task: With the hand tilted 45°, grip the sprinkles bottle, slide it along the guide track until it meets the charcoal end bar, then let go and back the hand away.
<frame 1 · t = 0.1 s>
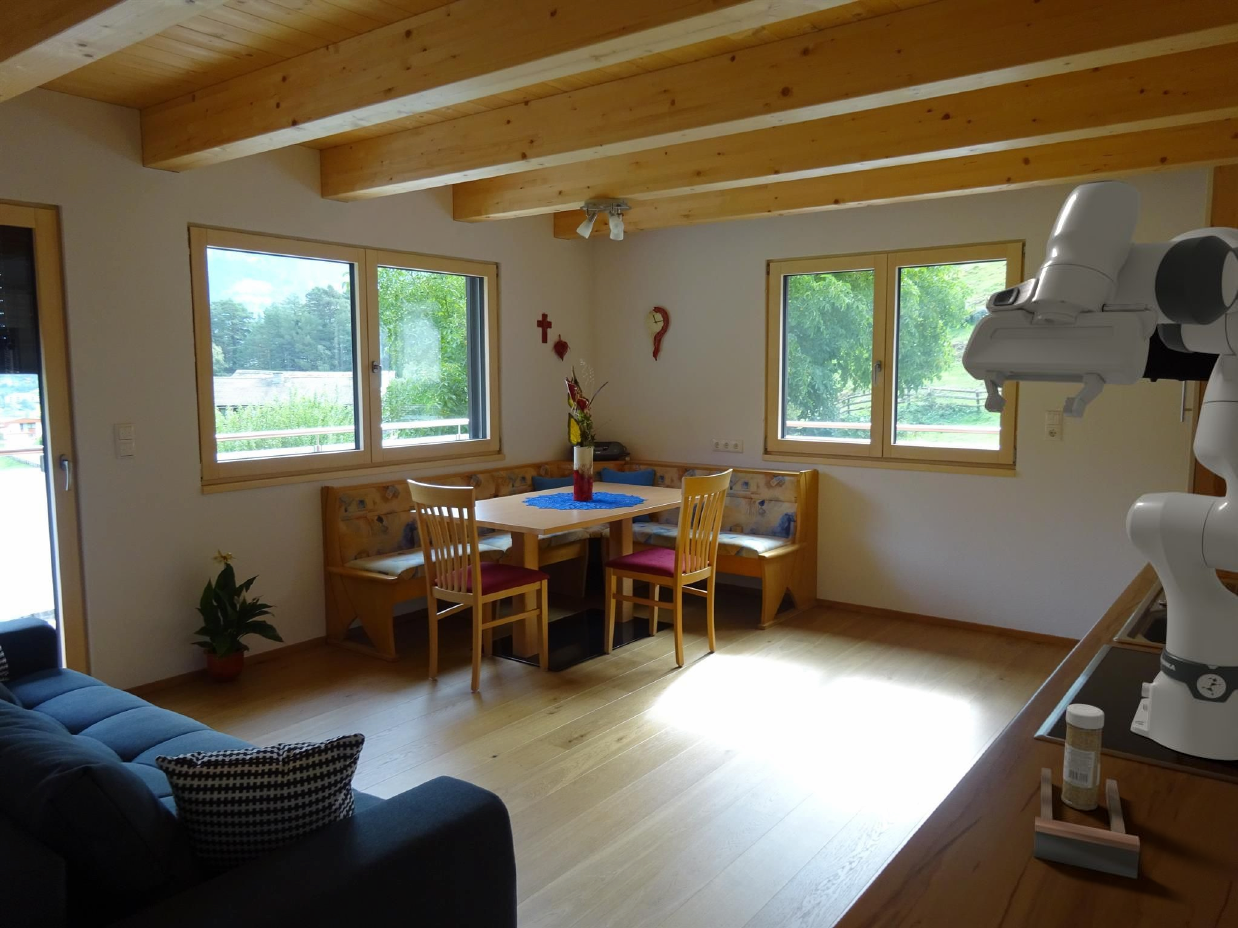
hand: (1030, 413, 104), 54 cm above the counter, tool tilted 30°, fingers open, 8 cm apart
guide track: (1080, 823, 119), on the counter
sprinkles bottle: (1078, 804, 124), resting in guide track
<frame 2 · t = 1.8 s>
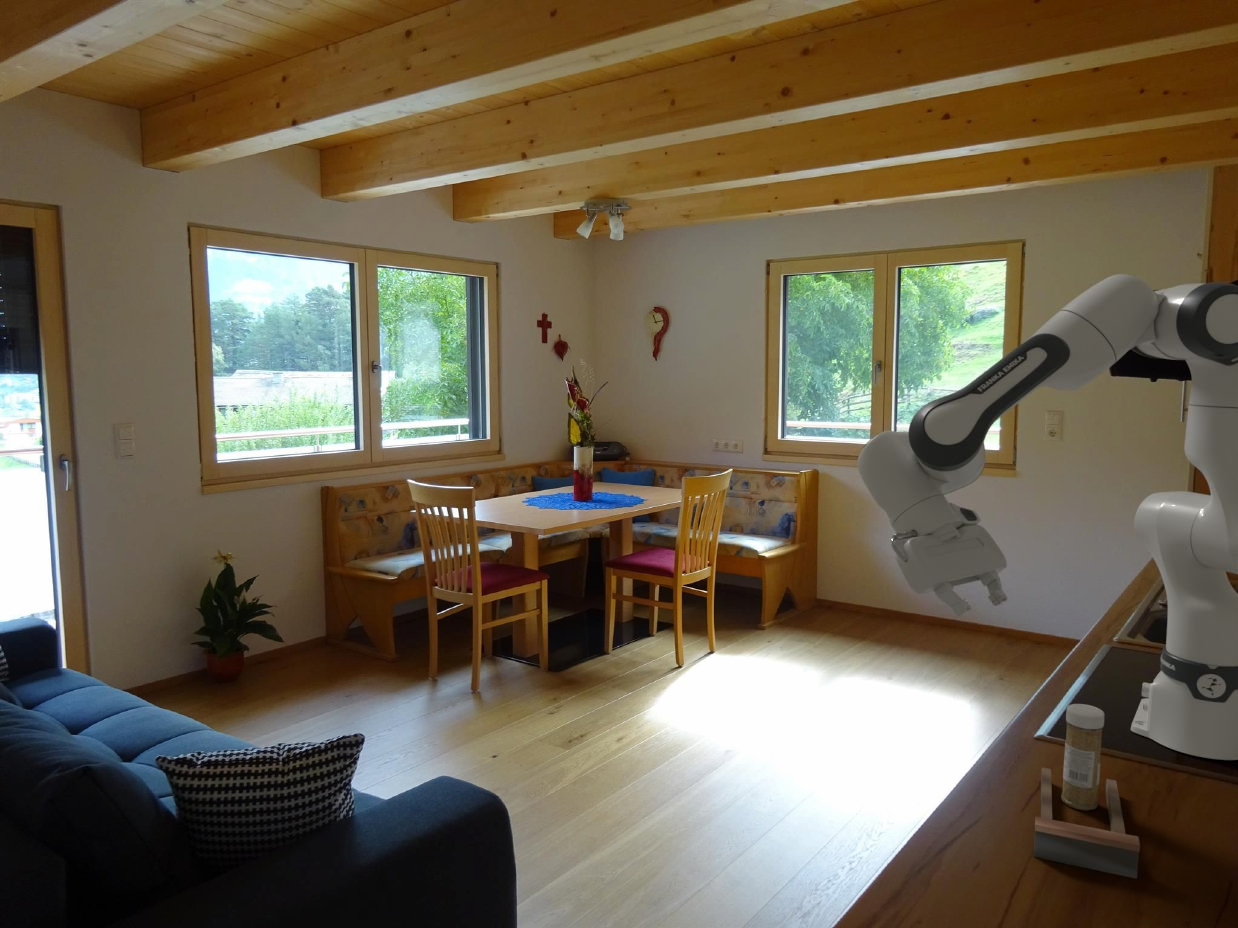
hand: (983, 608, 130), 25 cm above the counter, tool tilted 45°, fingers open, 8 cm apart
nothing on the counter moved.
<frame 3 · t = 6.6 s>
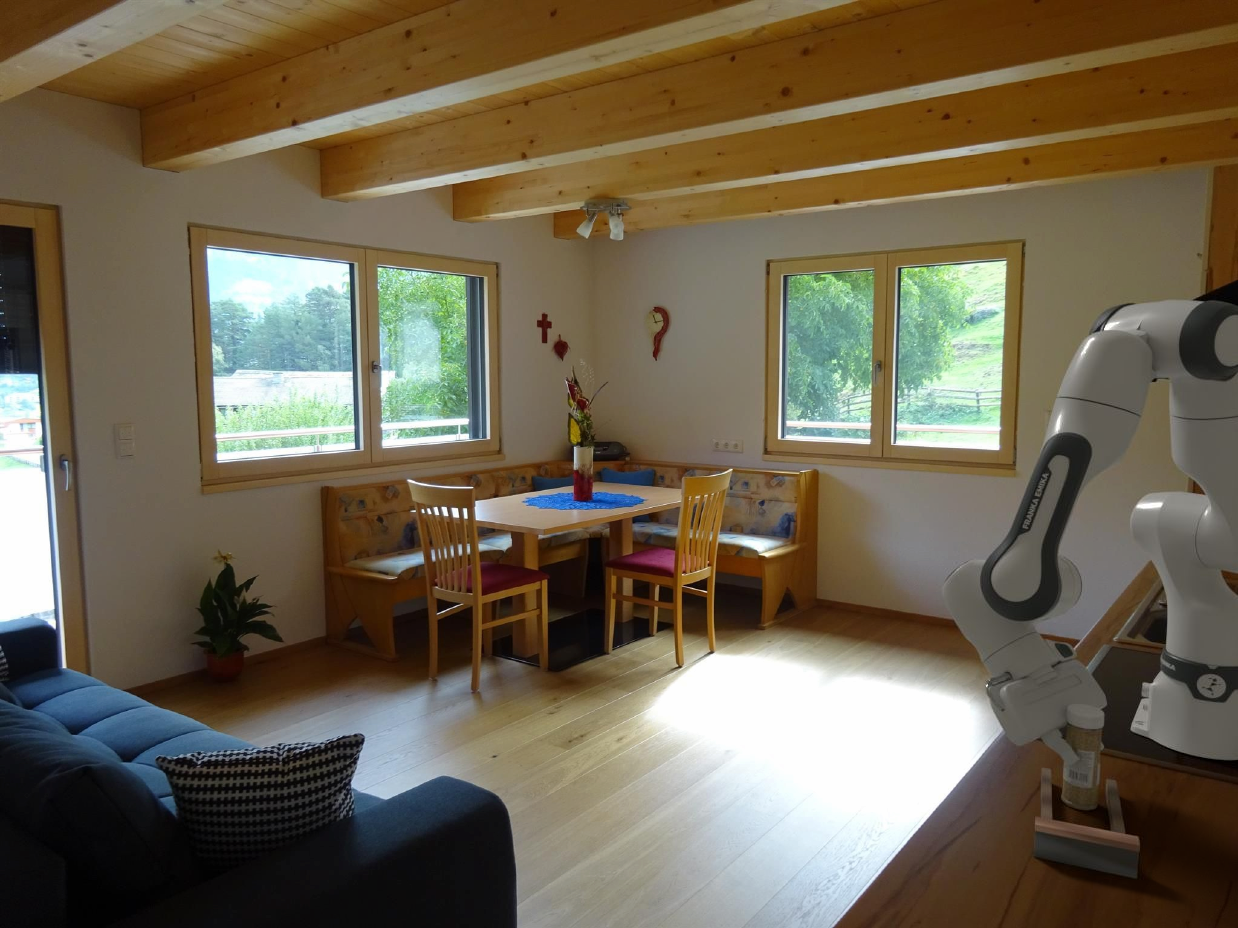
hand: (1086, 756, 123), 7 cm above the counter, tool tilted 45°, fingers closed on sprinkles bottle, 4 cm apart
sprinkles bottle: (1078, 804, 124), resting in guide track, touching gripper
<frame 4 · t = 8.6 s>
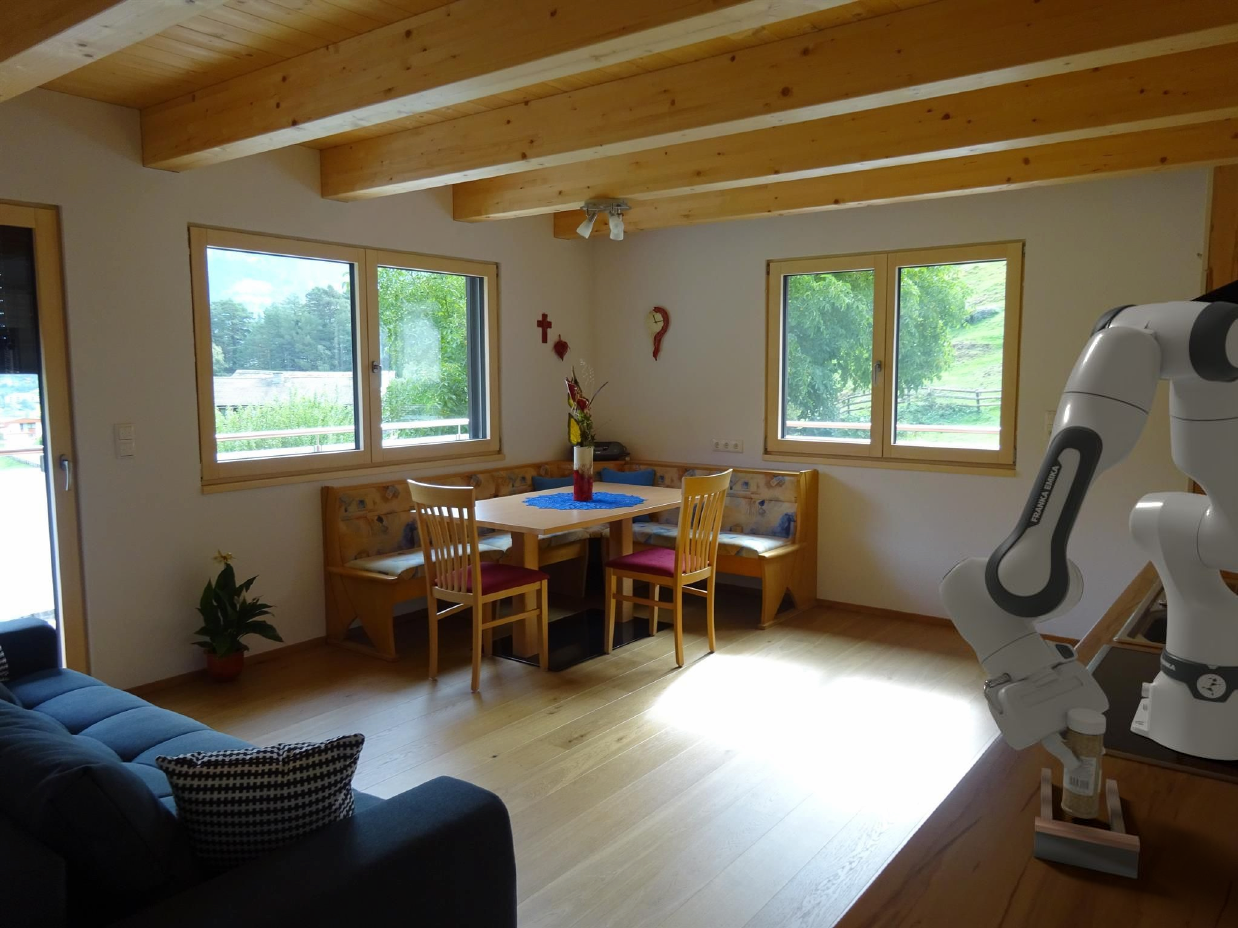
hand: (1088, 761, 119), 8 cm above the counter, tool tilted 45°, fingers closed on sprinkles bottle, 4 cm apart
sprinkles bottle: (1079, 812, 120), point 1 cm above the counter, touching gripper
when the fingers open (8 cm above the counter, at t = 10.6 s): sprinkles bottle stays where it is, resting in guide track.
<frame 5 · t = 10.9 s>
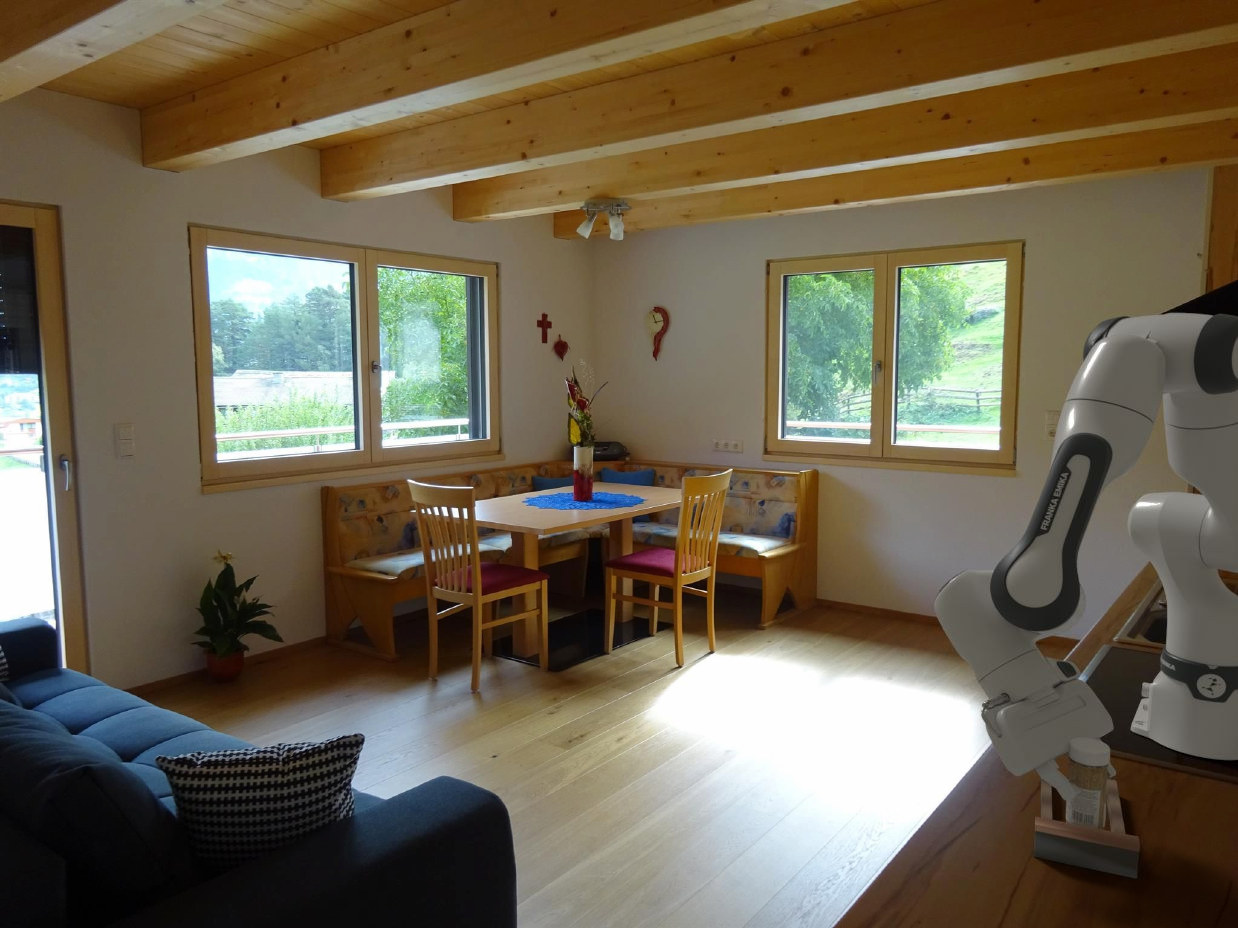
hand: (1092, 787, 112), 8 cm above the counter, tool tilted 45°, fingers open, 7 cm apart
sprinkles bottle: (1083, 848, 114), resting in guide track
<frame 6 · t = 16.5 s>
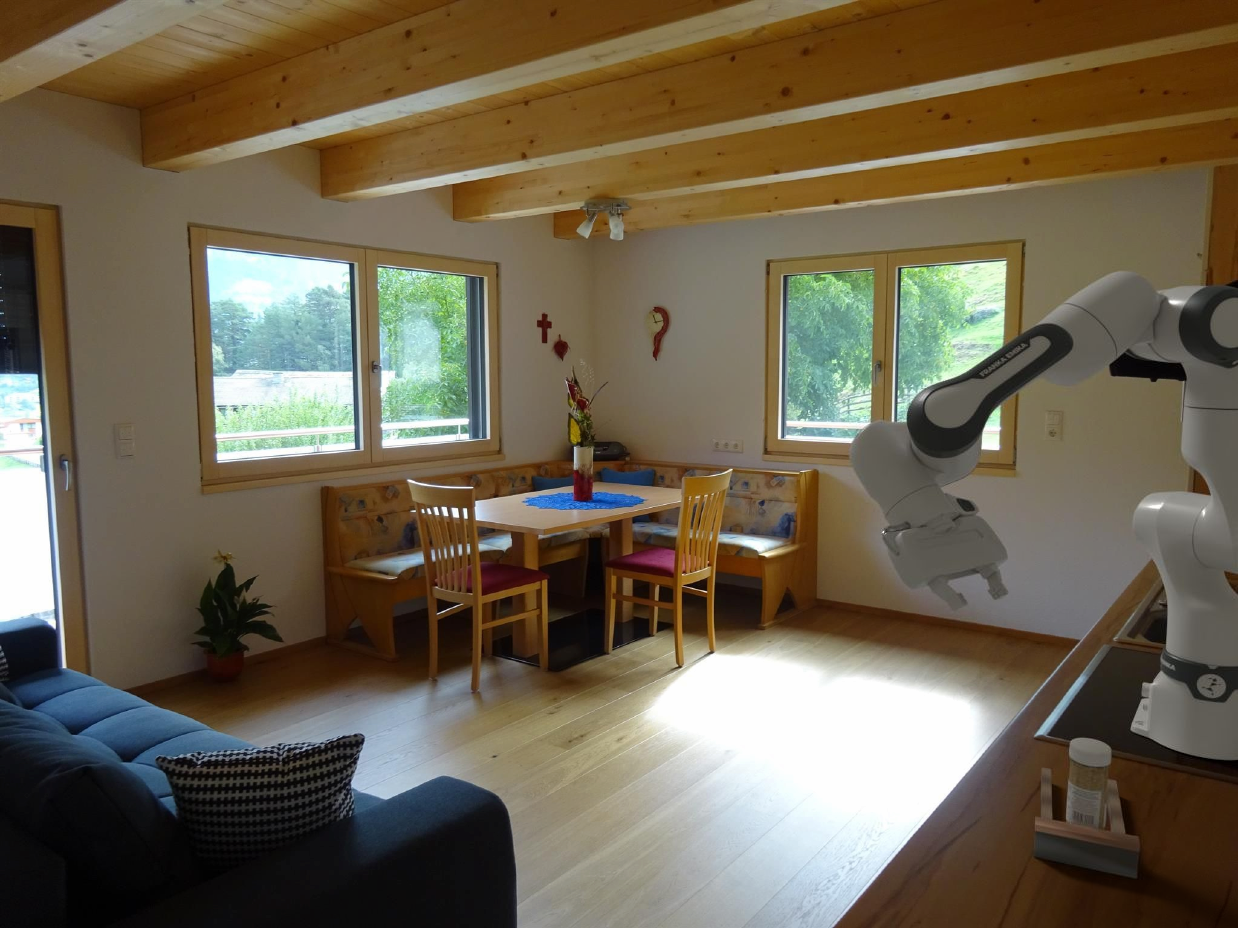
hand: (982, 602, 123), 27 cm above the counter, tool tilted 45°, fingers open, 8 cm apart
nothing on the counter moved.
at the end: sprinkles bottle 0.1 cm from the target spot, resting in guide track; sprinkles bottle tilted 0°; the gripper is holding nothing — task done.
